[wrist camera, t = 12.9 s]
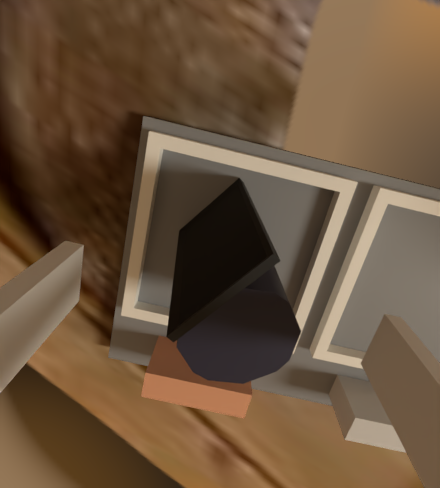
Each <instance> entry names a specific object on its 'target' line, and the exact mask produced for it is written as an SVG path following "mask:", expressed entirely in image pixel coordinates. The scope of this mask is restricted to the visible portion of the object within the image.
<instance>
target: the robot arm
mask: <svg viewBox="0 0 440 488" xmlns="http://www.w3.org/2000/svg"><path fill="white" fill-rule="evenodd" d="M83 249H84V245H82V244H78V243H74V242H69V241H64V242H63V243H62V244H60V245H59V246H57V247H56V248H55V249H53V250H52V251H50V252H49V253H48V254H46V255H45V256H44V257H42V258H41V259H39V260H38V261H37V262H35V263H34V264H33V265H31V266H30V267H28V268H27V269H26V270H24V271H23V272H21V273H20V274H19V275H17V276H16V277H15V278H13V279H12V280H10V281H9V282H8V283H6V284H5V285H3V286H2V287H1V288H0V393H1V391H2V390H3V389H4V388H5V387H6V385H7V384H8V383H9V382H10V381H11V380H12V379H13V377H14V376H15V375H16V374H17V373H18V372H19V370H20V369H21V368H22V367H23V366H24V365H25V363H26V362H27V361H28V360H29V359H30V358H31V356H32V355H33V354H34V353H35V352H36V351H37V349H38V348H39V347H40V346H41V345H42V344H43V342H44V341H45V340H46V339H47V338H48V336H49V335H50V334H51V333H52V332H53V331H54V329H55V328H56V327H57V326H58V325H59V324H60V322H61V321H62V320H63V319H64V318H65V317H66V315H67V314H68V313H69V312H70V311H71V310H72V308H73V307H74V306H75V305H76V304H77V303H78V301H79V293H80V282H81V271H82V260H83ZM361 365H362V367H363V369H364V371H365V373H366V375H367V377H368V379H369V381H370V383H371V385H372V387H373V389H374V391H375V392H376V394H377V396H378V398H379V400H380V402H381V404H382V406H383V408H384V410H385V412H386V414H387V416H388V418H389V420H390V422H391V424H392V426H393V428H394V429H395V431H396V433H397V435H398V437H399V439H400V441H401V443H402V445H403V447H404V449H405V451H406V453H407V455H408V457H409V459H410V461H411V463H412V465H413V467H414V468H415V470H416V472H417V474H418V476H419V478H420V480H421V482H422V484H423V486H424V488H440V363H439V362H438V361H437V359H436V358H435V357H434V356H433V355H432V353H431V352H430V351H429V350H428V349H427V347H426V346H425V345H424V344H423V343H422V341H421V340H420V339H419V338H418V337H417V335H416V334H415V333H414V332H413V331H412V329H411V328H410V327H409V326H408V325H407V324H406V322H405V321H404V320H403V319H402V318H401V317H397V316H392V315H388V314H384V316H383V318H382V320H381V322H380V324H379V327H378V329H377V331H376V333H375V335H374V337H373V339H372V341H371V343H370V345H369V347H368V349H367V351H366V353H365V355H364V358H363V360H362V362H361Z"/></svg>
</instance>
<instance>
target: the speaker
mask: <svg viewBox="0 0 440 488" xmlns="http://www.w3.org/2000/svg"><path fill="white" fill-rule="evenodd" d="M279 262H280V259H279V256H278V254H277V252H276V250H275V248H274V246H273V244H272V242H271V239H270V237H269V235H268V233H267V231H266V229H265V227H264V225H263V222H262V220H261V218H260V216H259V214H258V212H257V210H256V208H255V205H254V203H253V201H252V199H251V197H250V195H249V193H248V191H247V188H246V186H245V184H244V182H243V181H242V180H241V179H240V178H238V179H237V180H236V181H235V182H234V183H233V184H232V185H231V186H229V187H228V188H227V189H226V190H225V191H224V192H223V193H221V194H220V195H219V196H218V197H217V198H216V199H215V200H213V201H212V202H211V203H210V204H209V205H208V206H207V207H205V208H204V209H203V210H202V211H201V212H200V213H199V214H197V215H196V216H195V217H194V218H193V219H192V220H191V221H189V222H188V223H187V224H186V225H185V226H184V227H183V228H181V229H180V230H179V236H178V244H177V253H176V261H175V269H174V277H173V286H172V294H171V302H170V311H169V319H168V327H167V335H166V337H167V338H168V339H170V340H171V341H172V342H175V341H177V349H178V350H179V352H180V353H181V355H182V356H183V358H184V359H185V361H186V362H187V364H188V365H189V367H190V368H191V370H192V372H193V373H195V374H197V375H199V376H201V377H203V378H204V379H206V380H209V381H219V382H229V383H239V384H244V383H247V382H250V381H252V380H255V379H258V378H260V377H263V376H266V375H269V374H271V373H274V372H277V371H278V370H279V369H280V368H281V367H282V366H284V365H285V364H286V363H287V362H288V361H289V360H290V358H291V356H292V353H293V351H294V348H295V346H296V343H297V341H298V339H299V336H300V334H301V330H300V327H299V325H298V322H297V320H296V317H295V315H294V312H293V310H292V307H291V305H290V303H289V300H288V298H287V295H286V293H285V290H284V288H283V285H282V283H281V280H280V278H279V276H278V273H277V271H276V268H275V265H276V264H277V263H279Z"/></svg>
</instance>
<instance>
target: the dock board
mask: <svg viewBox="0 0 440 488" xmlns="http://www.w3.org/2000/svg"><path fill="white" fill-rule="evenodd" d="M238 178H240V179H241V180H242V181H243V182H244V184H245V186H246V188H247V191H248V193H249V195H250V197H251V199H252V201H253V203H254V205H255V208H256V210H257V212H258V214H259V216H260V218H261V220H262V222H263V225H264V227H265V229H266V231H267V233H268V235H269V237H270V239H271V242H272V244H273V246H274V248H275V250H276V252H277V254H278V256H279V259H280V262H279V263H277V264H276V265H275V268H276V271H277V273H278V276H279V278H280V280H281V283H282V285H283V288H284V290H285V293H286V295H287V298H288V300H289V303H290V305H291V307H292V310H293V312H294V315H295V317H296V320H297V322H298V325H299V327H300V330H301V334H300V336H299V339H298V341H297V343H296V346H295V348H294V351H293V353H292V356H291V358H290V360H289V361H288V362H287V363H286V364H285V365H284V366H282V367H281V368H280V369H279V370H278V371H277V372H274V373H271V374H269V375H266V376H263V377H260V378H258V379H255V380H252V381H250V382H247V383H244V384H239V383H229V382H219V381H209V380H206V379H204V378H203V377H201V376H199V375H197V374H195V373H193V372H192V370H191V368H190V367H189V365H188V364H187V362H186V361H185V359H184V358H183V356H182V355H181V353H180V352H179V350H178V349H177V341H175V342H172V341H171V340H170V339H168V338H167V337H166V335H167V327H168V319H169V311H170V302H171V294H172V286H173V277H174V269H175V261H176V253H177V244H178V236H179V230H180V229H181V228H183V227H184V226H185V225H186V224H187V223H188V222H189V221H191V220H192V219H193V218H194V217H195V216H196V215H197V214H199V213H200V212H201V211H202V210H203V209H204V208H205V207H207V206H208V205H209V204H210V203H211V202H212V201H213V200H215V199H216V198H217V197H218V196H219V195H220V194H221V193H223V192H224V191H225V190H226V189H227V188H228V187H229V186H231V185H232V184H233V183H234V182H235V181H236V180H237V179H238ZM384 314H388V315H392V316H397V317H401V318H402V319H403V320H404V321H405V322H406V324H407V325H408V326H409V327H410V328H411V329H412V331H413V332H414V333H415V334H416V335H417V337H418V338H419V339H420V340H421V341H422V343H423V344H424V345H425V346H426V347H427V349H428V350H429V351H430V352H431V353H432V355H433V356H434V357H435V358H436V359H437V361H438V362H439V363H440V189H439V188H435V187H431V186H427V185H423V184H419V183H415V182H411V181H407V180H403V179H399V178H395V177H391V176H386V175H383V174H378V173H375V172H370V171H367V170H362V169H358V168H354V167H350V166H346V165H342V164H338V163H334V162H330V161H326V160H322V159H318V158H314V157H310V156H306V155H302V154H298V153H294V152H289V151H286V150H282V149H278V148H274V147H270V146H266V145H262V144H257V143H253V142H249V141H245V140H241V139H237V138H233V137H229V136H225V135H221V134H217V133H213V132H209V131H205V130H201V129H197V128H193V127H189V126H185V125H181V124H177V123H173V122H169V121H165V120H161V119H157V118H153V117H148V116H143V122H142V129H141V136H140V142H139V149H138V156H137V163H136V170H135V177H134V184H133V191H132V198H131V205H130V212H129V218H128V225H127V232H126V239H125V246H124V253H123V260H122V267H121V274H120V281H119V288H118V295H117V301H116V308H115V315H114V322H113V329H112V336H111V343H110V350H109V357H108V358H113V359H118V360H122V361H127V362H132V363H136V364H141V365H145V366H148V368H147V370H146V374H145V379H144V384H143V389H142V394H141V397H146V398H150V399H155V400H160V401H165V402H169V403H174V404H179V405H184V406H188V407H193V408H198V409H202V410H207V411H212V412H217V413H221V414H226V415H231V416H235V417H240V418H245V415H246V412H247V409H248V406H249V403H250V400H251V397H252V389H257V390H261V391H266V392H271V393H275V394H280V395H284V396H289V397H294V398H298V399H303V400H308V401H312V402H317V403H321V404H326V405H331V406H333V408H334V411H335V414H336V417H337V419H338V422H339V425H340V428H341V431H342V433H343V436H344V439H345V440H349V441H353V442H358V443H363V444H368V445H372V446H377V447H382V448H387V449H391V450H396V451H401V452H405V453H406V451H405V449H404V447H403V445H402V443H401V441H400V439H399V437H398V435H397V433H396V431H395V429H394V428H393V426H392V424H391V422H390V420H389V418H388V416H387V414H386V412H385V410H384V408H383V406H382V404H381V402H380V400H379V398H378V396H377V394H376V392H375V391H374V389H373V387H372V385H371V383H370V381H369V379H368V377H367V375H366V373H365V371H364V369H363V367H362V365H361V362H362V360H363V358H364V355H365V353H366V351H367V349H368V347H369V345H370V343H371V341H372V339H373V337H374V335H375V333H376V331H377V329H378V327H379V324H380V322H381V320H382V318H383V316H384Z"/></svg>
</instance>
